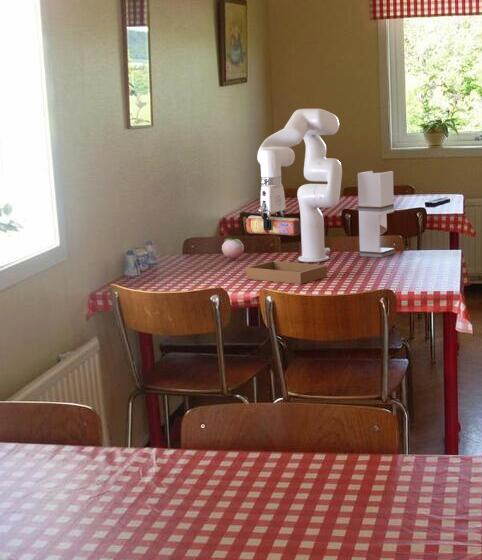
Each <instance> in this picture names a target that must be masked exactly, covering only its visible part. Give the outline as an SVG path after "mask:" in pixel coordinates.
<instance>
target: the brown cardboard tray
mask: <svg viewBox="0 0 482 560" xmlns="http://www.w3.org/2000/svg"><path fill="white" fill-rule="evenodd" d="M327 272H328V271H327V265H325V264H313V263H301V262H291V261H281V260H270V261H267V262H263V263H262V262H261V263H259V264H255V265H250V266H246V267H245V275H246V276H245V277H246V279H247V280H255V281H265V282H274V283H284V284H294V285H303V284H307V283H310V282H314V281H318V280H321V279H324V278H327V277H328V273H327Z"/></svg>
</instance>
